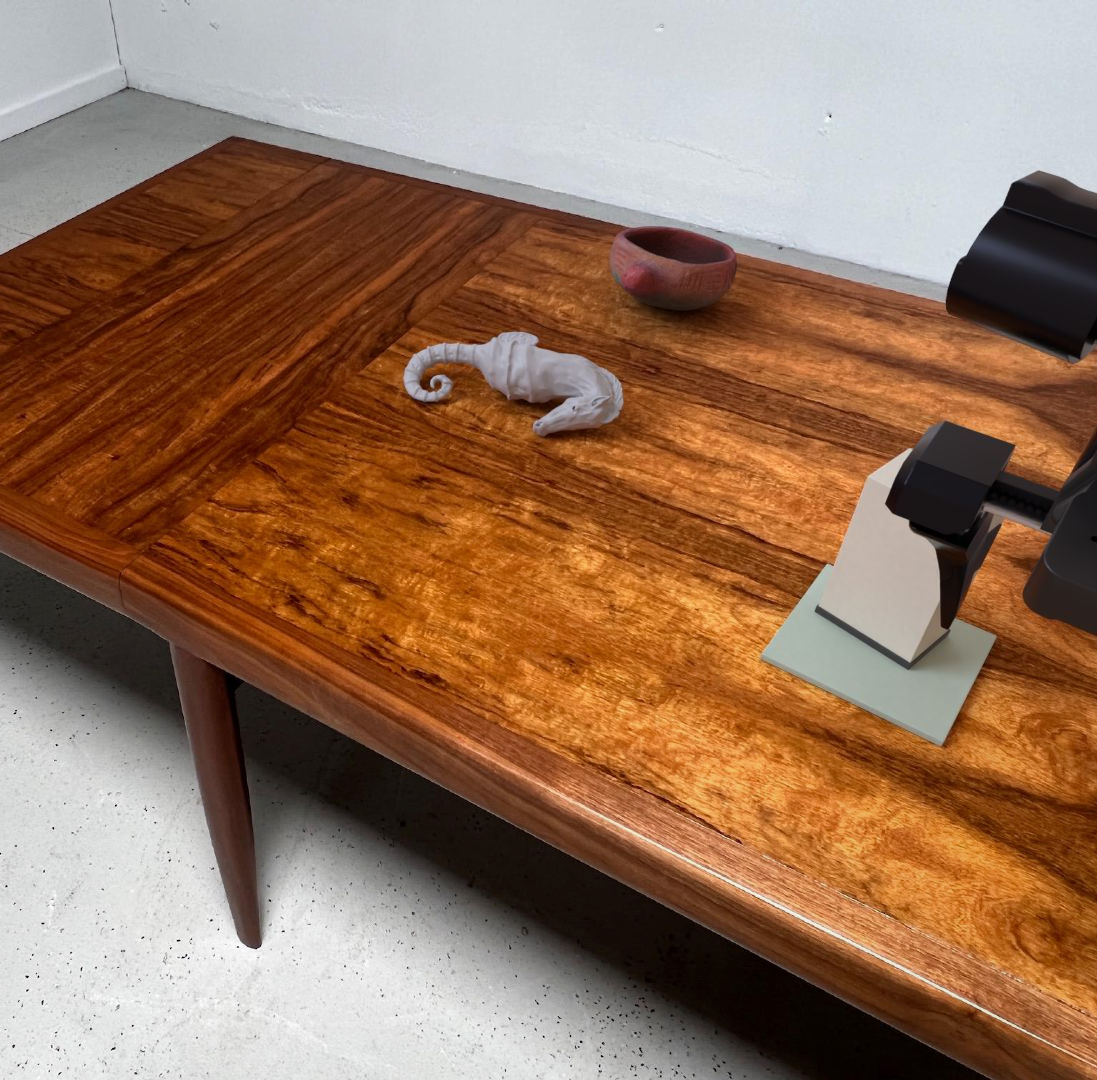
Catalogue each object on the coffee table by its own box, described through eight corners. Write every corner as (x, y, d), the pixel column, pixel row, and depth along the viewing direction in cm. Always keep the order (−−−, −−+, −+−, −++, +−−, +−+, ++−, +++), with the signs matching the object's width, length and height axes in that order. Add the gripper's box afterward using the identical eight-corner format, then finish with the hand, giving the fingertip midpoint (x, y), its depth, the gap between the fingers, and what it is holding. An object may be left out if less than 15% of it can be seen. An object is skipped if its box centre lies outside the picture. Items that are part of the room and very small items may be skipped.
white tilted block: (855, 580, 77) (909, 446, 70) (948, 636, 73) (1017, 499, 65) (813, 611, 75) (865, 475, 67) (908, 670, 71) (975, 532, 63)
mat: (994, 640, 73) (997, 635, 73) (941, 747, 66) (943, 742, 66) (825, 568, 79) (827, 563, 79) (759, 658, 72) (761, 653, 72)
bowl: (600, 272, 116) (611, 202, 111) (719, 279, 115) (735, 208, 110) (607, 345, 104) (619, 270, 99) (740, 353, 103) (759, 278, 98)
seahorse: (388, 414, 93) (622, 414, 88) (406, 315, 98) (627, 310, 93) (398, 449, 97) (622, 451, 92) (416, 352, 103) (627, 349, 98)
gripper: (902, 410, 44) (801, 669, 54) (1479, 611, 35) (1228, 876, 45) (980, 310, 50) (877, 558, 60) (1481, 457, 41) (1262, 718, 51)
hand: (1039, 665), depth 54 cm, fingers open, 9 cm apart
